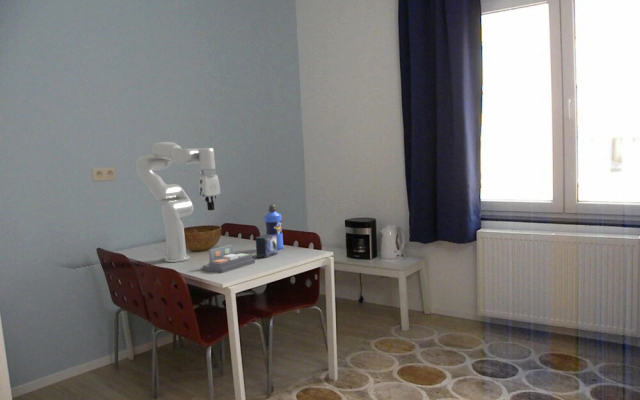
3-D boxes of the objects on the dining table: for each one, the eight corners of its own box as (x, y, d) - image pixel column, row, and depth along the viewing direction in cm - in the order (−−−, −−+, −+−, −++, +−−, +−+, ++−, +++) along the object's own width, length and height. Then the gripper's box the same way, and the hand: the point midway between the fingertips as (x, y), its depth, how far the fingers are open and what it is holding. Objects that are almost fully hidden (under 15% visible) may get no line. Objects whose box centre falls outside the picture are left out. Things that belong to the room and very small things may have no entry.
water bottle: (287, 247, 281) (283, 203, 279) (276, 251, 273) (273, 205, 271) (273, 246, 286) (270, 203, 284) (263, 250, 278) (260, 205, 276)
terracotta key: (212, 265, 237) (212, 261, 237) (221, 262, 241) (220, 258, 241) (220, 266, 234) (220, 262, 234) (228, 263, 238) (228, 259, 238)
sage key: (233, 259, 247) (232, 255, 247) (240, 257, 252) (240, 253, 251) (240, 260, 244) (240, 256, 244) (248, 258, 248) (248, 254, 248)
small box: (266, 258, 257) (264, 238, 256) (256, 257, 260) (254, 237, 259) (278, 254, 266) (277, 234, 265) (268, 253, 269) (267, 234, 268)
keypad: (202, 269, 240) (201, 251, 239) (235, 260, 256) (233, 243, 256) (222, 272, 231) (221, 253, 231) (254, 262, 248) (253, 244, 247)
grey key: (223, 260, 242) (222, 256, 242) (231, 257, 246) (230, 253, 246) (230, 261, 239) (230, 256, 239) (238, 258, 243) (238, 254, 243)
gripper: (201, 174, 239) (204, 212, 241) (224, 171, 251) (227, 208, 253) (190, 174, 244) (194, 211, 246) (214, 172, 256) (217, 207, 258)
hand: (211, 209), depth 249 cm, fingers closed
